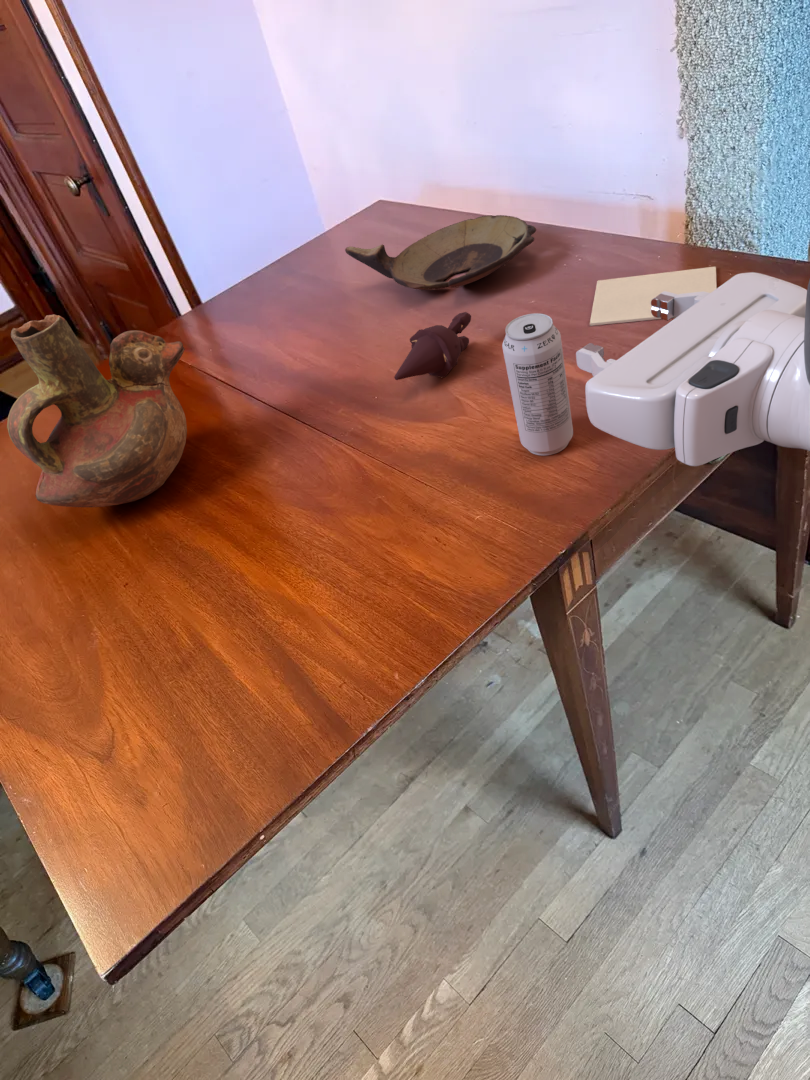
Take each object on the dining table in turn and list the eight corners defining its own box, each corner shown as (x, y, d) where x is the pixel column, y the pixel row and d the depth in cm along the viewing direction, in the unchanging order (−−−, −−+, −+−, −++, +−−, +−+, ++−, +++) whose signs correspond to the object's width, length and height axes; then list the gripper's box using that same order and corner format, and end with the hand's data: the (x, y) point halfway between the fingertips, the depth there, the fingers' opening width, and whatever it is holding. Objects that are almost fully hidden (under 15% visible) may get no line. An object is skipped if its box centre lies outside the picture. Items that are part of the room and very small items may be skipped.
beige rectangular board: (715, 269, 103) (715, 266, 103) (717, 313, 96) (717, 310, 95) (597, 283, 109) (597, 280, 109) (589, 326, 101) (589, 323, 101)
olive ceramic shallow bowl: (497, 314, 110) (487, 264, 105) (343, 303, 127) (328, 260, 122) (561, 242, 122) (556, 195, 117) (412, 241, 138) (402, 200, 133)
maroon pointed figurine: (416, 367, 93) (491, 316, 100) (373, 344, 96) (449, 296, 103) (416, 411, 98) (487, 359, 105) (376, 387, 101) (447, 338, 108)
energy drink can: (570, 421, 88) (554, 305, 78) (577, 452, 83) (562, 333, 73) (519, 431, 89) (497, 318, 79) (523, 463, 84) (501, 347, 74)
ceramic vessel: (256, 445, 102) (171, 273, 85) (92, 563, 92) (-40, 394, 76) (196, 412, 113) (110, 254, 96) (44, 514, 103) (-80, 357, 87)
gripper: (855, 271, 56) (698, 240, 66) (678, 409, 50) (532, 352, 59) (843, 344, 61) (696, 305, 70) (678, 480, 54) (541, 417, 64)
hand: (619, 328), depth 65 cm, fingers open, 8 cm apart
